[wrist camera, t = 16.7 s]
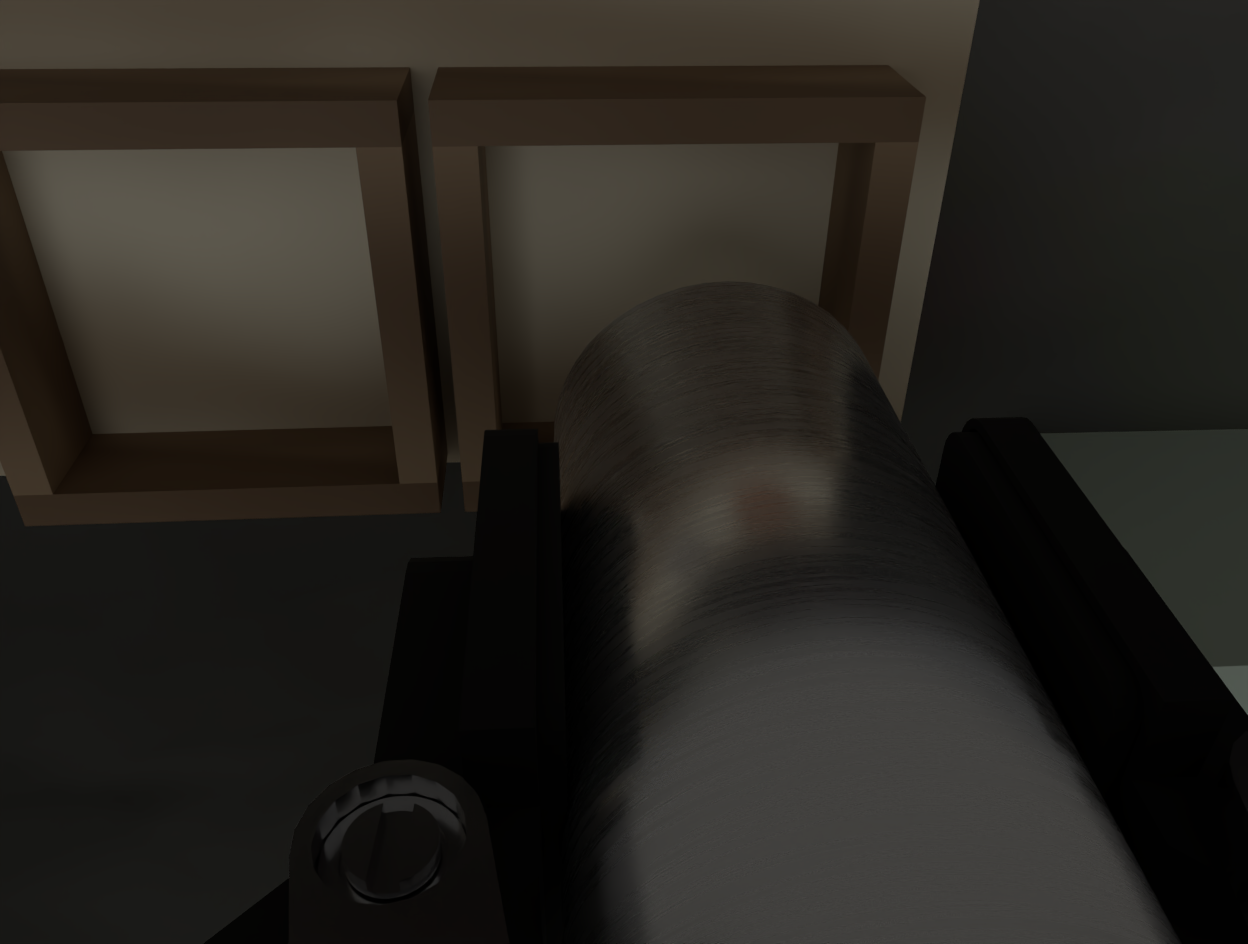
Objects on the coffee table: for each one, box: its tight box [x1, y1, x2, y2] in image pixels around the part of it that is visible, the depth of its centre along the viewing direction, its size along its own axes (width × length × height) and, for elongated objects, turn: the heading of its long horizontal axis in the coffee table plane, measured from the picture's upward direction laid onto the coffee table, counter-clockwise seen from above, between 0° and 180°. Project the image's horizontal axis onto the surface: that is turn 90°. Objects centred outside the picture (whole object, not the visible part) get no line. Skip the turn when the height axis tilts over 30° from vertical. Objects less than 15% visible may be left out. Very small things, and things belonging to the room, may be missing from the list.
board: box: [0, 0, 980, 526], centre depth 15 cm, size 15×22×4 cm
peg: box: [554, 281, 1182, 944], centre depth 9 cm, size 4×4×9 cm
